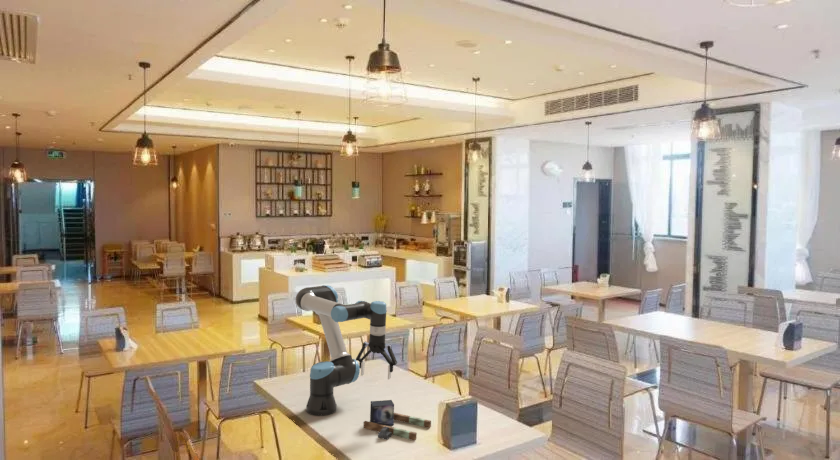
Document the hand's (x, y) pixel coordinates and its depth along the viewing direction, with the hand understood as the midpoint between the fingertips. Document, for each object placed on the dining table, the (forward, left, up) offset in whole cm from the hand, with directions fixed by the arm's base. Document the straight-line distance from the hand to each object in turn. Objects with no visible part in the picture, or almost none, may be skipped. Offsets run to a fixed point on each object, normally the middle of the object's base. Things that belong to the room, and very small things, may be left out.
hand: (375, 376), depth 280 cm
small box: (+6, -3, -22) cm, 22 cm away
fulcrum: (+14, -15, -21) cm, 30 cm away
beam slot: (+14, -3, -21) cm, 26 cm away
